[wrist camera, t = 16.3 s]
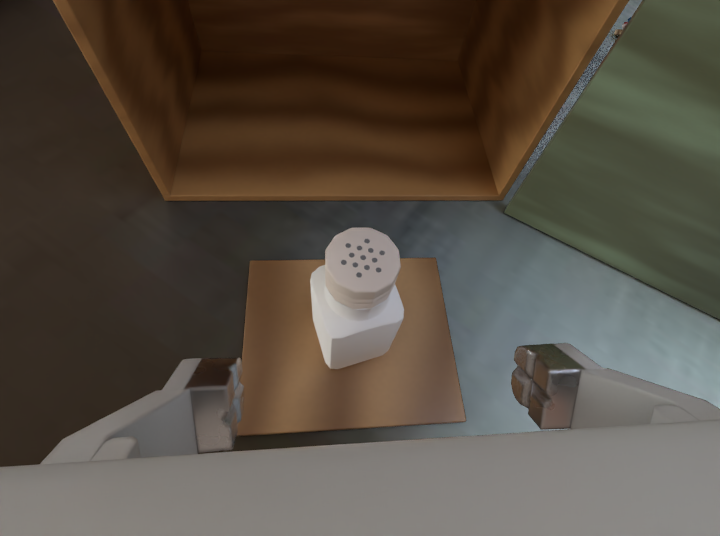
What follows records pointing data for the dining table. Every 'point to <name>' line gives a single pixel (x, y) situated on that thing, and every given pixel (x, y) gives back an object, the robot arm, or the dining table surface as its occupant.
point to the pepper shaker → (356, 297)
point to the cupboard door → (642, 157)
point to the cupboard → (337, 91)
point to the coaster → (352, 383)
